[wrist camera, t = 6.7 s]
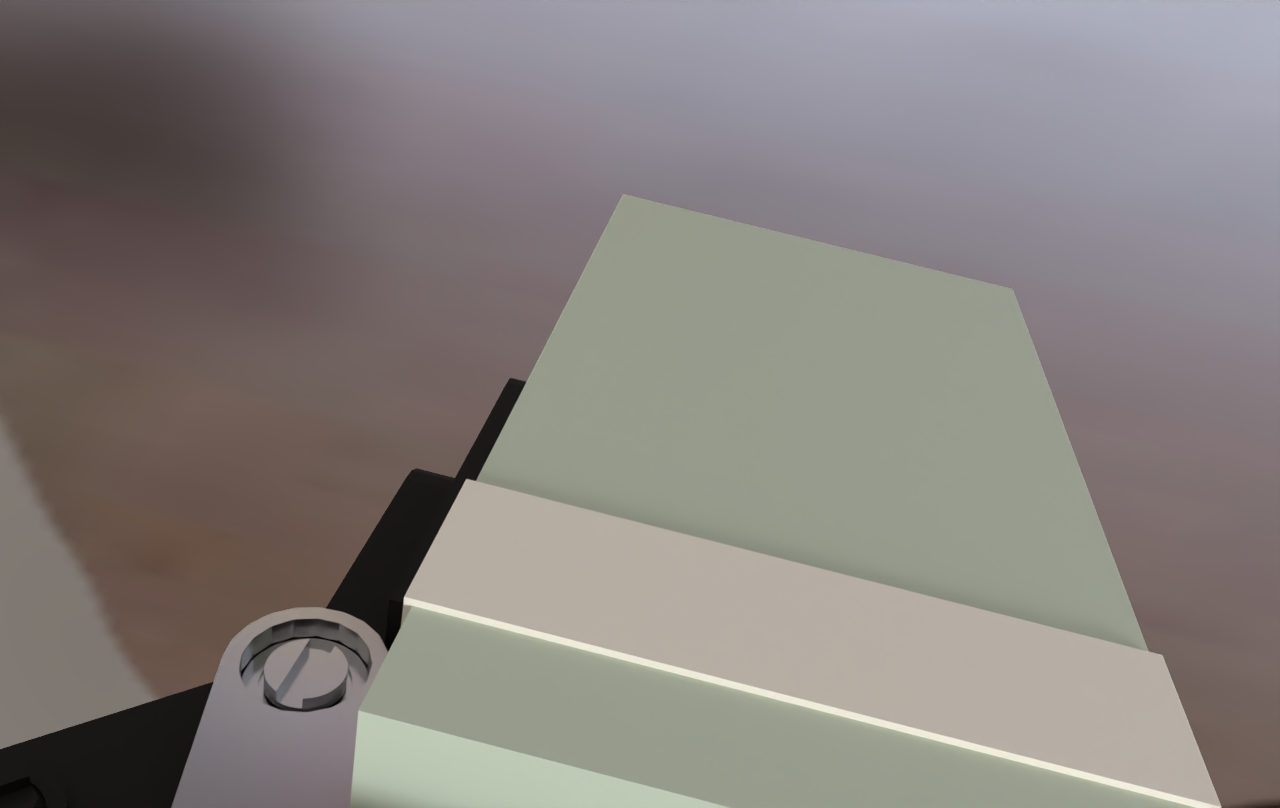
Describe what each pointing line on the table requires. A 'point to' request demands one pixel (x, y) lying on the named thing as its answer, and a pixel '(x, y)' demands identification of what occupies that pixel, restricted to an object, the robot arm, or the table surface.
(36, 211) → the table surface
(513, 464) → the carton
